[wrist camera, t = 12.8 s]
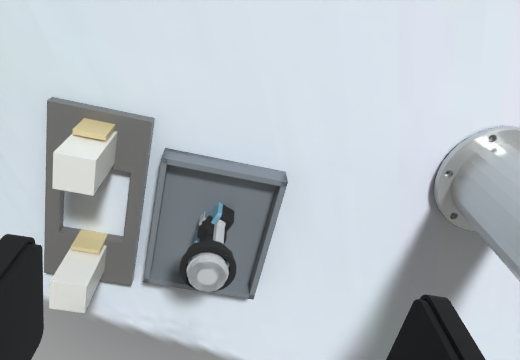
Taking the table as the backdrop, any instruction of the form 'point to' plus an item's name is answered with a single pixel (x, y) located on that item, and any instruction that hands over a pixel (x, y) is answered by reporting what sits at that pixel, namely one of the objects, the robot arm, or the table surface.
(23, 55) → the table surface
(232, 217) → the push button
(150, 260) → the tray
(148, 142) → the block
